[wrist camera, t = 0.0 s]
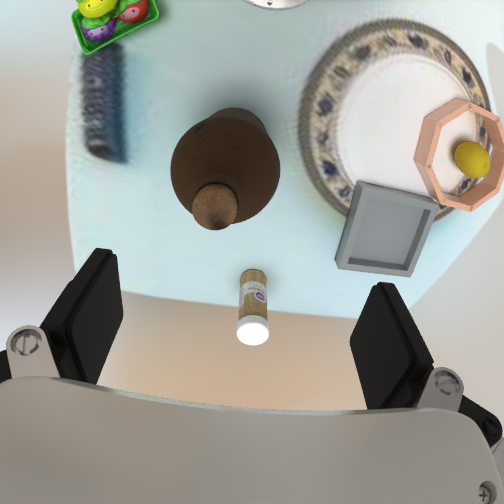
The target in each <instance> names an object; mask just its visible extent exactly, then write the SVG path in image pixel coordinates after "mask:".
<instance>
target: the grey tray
mask: <svg viewBox="0 0 504 504" xmlns="http://www.w3.org/2000/svg"><path fill="white" fill-rule="evenodd" d="M438 207H439V204H437V203H436V202H435V201H434V200H433V199H432V198H430V197H426V196H422V195H418V194H413V193H409V192H405V191H401V190H396V189H392V188H388V187H383V186H379V185H374V184H369V183H364V182H359V181H357V183H356V187H355V191H354V194H353V198H352V202H351V205H350V209H349V212H348V216H347V219H346V223H345V226H344V230H343V233H342V236H341V240H340V243H339V246H338V250H337V253H336V256H335V261H336V264H337V267H338V269H343V270H351V271H360V272H368V273H377V274H386V275H394V276H403V277H411V275H412V272H413V270H414V268H415V266H416V263H417V261H418V258H419V256H420V254H421V251H422V249H423V246H424V244H425V241H426V239H427V236H428V234H429V231H430V228H431V226H432V223H433V220H434V218H435V215H436V212H437V209H438Z"/></svg>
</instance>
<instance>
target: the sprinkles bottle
mask: <svg viewBox="0 0 504 504" xmlns="http://www.w3.org/2000/svg"><path fill="white" fill-rule="evenodd" d="M240 284H241V285H240V297H239V322H238V324H237V337H238V338H239V340H240V341H241V342H243V343H245V344H248V345H258V344H261V343H263V342H265V341H266V340H267V338H268V336H269V324H268V321H267V290H266V277H265V275H264V274H263V273H262V272H260V271H258V270H249V271H246V272H245V273H243V274H242V276H241V278H240Z"/></svg>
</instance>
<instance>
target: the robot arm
mask: <svg viewBox="0 0 504 504" xmlns="http://www.w3.org/2000/svg"><path fill="white" fill-rule="evenodd" d="M245 1H247V2H249V3H251V4H253V5H255V6H258V7H261V8H265V9H270V10H284V9H290V8H294V7H297V6H300V5H302V4H304V3H305V2H307V1H308V0H245ZM268 3H271V4H272V5H268ZM122 319H123V305H122V298H121V290H120V281H119V272H118V262H117V256H116V254H113V252H112V250H110V249H102V248H96V249H95V250H94V251H93V252H92V254H91V255H90V256H89V258H88V259H87V261H86V262H85V263H84V265H83V266H82V267H81V269H80V270H79V272H78V273H77V275H76V276H75V277H74V279H73V280H72V281H70V282H69V283H68V284H67V286H66V288H65V289H64V290H63V292H62V293H61V295H60V296H59V298H58V299H57V301H56V302H55V304H54V305H53V307H52V308H51V310H50V311H49V313H48V314H47V316H46V318H45V319H44V321H43V322H42V324H41V326H40V327H36V326H31V325H27V326H23V327H20V328H18V329H16V330H15V331H14V332H12V333H11V334H10V336H9V337H8V339H7V342H6V350H3V351H1V352H0V504H504V438H503V437H502V426H501V423H500V421H499V420H498V418H497V417H496V416H495V415H493V414H492V413H490V412H489V411H487V410H486V409H484V408H482V407H481V406H479V405H478V404H476V403H475V402H473V401H472V400H470V399H468V398H467V397H465V396H464V395H463V391H464V386H463V383H462V380H461V379H460V377H459V376H458V375H457V374H456V373H455V372H453V371H452V370H450V369H448V368H445V367H438V368H435V369H434V367H433V365H432V364H433V362H434V361H433V359H432V356H431V354H430V352H429V350H428V348H427V346H426V344H425V342H424V340H423V338H422V336H421V334H420V332H419V330H418V328H417V326H416V324H415V322H414V320H413V318H412V316H411V314H410V313H409V311H408V309H407V307H406V305H405V303H404V301H403V299H402V298H401V296H400V294H399V292H398V290H397V288H396V287H395V285H394V284H393V283H386V282H378V283H377V285H374V286H373V287H372V289H371V291H370V294H369V296H368V298H367V301H366V303H365V305H364V308H363V310H362V312H361V315H360V317H359V319H358V321H357V324H356V326H355V328H354V330H353V333H352V335H351V337H350V347H351V351H352V354H353V357H354V361H355V365H356V368H357V372H358V375H359V379H360V383H361V387H362V390H363V394H364V398H365V402H366V406H367V410H344V411H343V410H342V411H307V410H276V409H258V408H244V407H232V406H222V405H213V404H204V403H196V402H188V401H181V400H174V399H168V398H162V397H155V396H150V395H144V394H139V393H134V392H128V391H123V390H118V389H113V388H108V387H104V386H99V385H96V384H97V381H98V379H99V376H100V374H101V371H102V368H103V366H104V363H105V361H106V358H107V356H108V353H109V351H110V348H111V346H112V343H113V341H114V339H115V336H116V334H117V331H118V329H119V327H120V324H121V322H122Z"/></svg>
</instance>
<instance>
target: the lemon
mask: <svg viewBox="0 0 504 504" xmlns="http://www.w3.org/2000/svg"><path fill="white" fill-rule="evenodd" d="M455 162H456V165H457V167H458V168H459V170H460V171H461V172H463V173H464V174H465V175H467V176H469V177H472V178H481V177H484V176H485V175H486V174H487V173H488V172H489V170H490V166H491V160H490V156H489V154H488V152H487V151H486V150H485V149H484V148H483V147H482V146H481V145H479V144H477V143H475V142H471V141H468V142H463V143H461V144H460V145H459V146H458V147H457V149H456V151H455Z"/></svg>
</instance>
